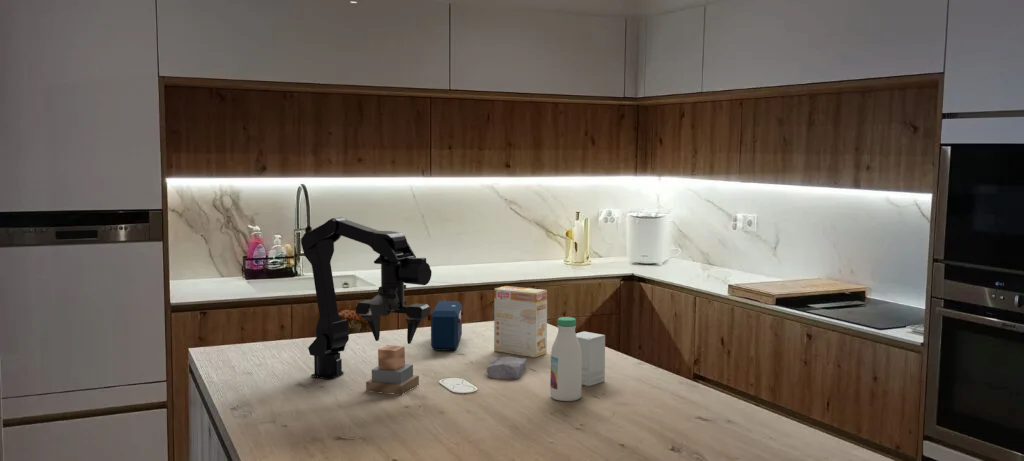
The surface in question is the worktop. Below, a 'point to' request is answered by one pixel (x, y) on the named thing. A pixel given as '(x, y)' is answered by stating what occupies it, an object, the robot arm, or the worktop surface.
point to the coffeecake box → (520, 321)
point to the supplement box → (592, 357)
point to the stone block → (506, 367)
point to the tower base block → (392, 386)
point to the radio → (446, 325)
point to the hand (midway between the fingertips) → (393, 342)
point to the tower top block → (392, 374)
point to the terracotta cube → (391, 357)
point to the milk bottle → (566, 362)
